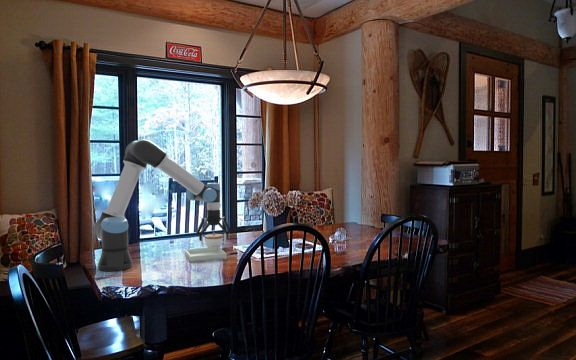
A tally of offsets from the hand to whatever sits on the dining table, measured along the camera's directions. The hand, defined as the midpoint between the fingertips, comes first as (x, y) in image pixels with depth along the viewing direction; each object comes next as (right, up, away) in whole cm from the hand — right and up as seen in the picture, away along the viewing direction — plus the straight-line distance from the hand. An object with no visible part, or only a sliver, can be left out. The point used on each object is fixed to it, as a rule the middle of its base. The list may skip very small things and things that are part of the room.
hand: (213, 245), depth 240 cm
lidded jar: (0, -2, 0) cm, 2 cm away
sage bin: (-1, -3, -22) cm, 22 cm away
